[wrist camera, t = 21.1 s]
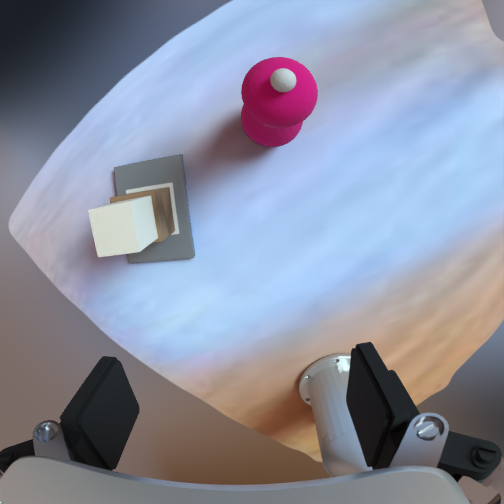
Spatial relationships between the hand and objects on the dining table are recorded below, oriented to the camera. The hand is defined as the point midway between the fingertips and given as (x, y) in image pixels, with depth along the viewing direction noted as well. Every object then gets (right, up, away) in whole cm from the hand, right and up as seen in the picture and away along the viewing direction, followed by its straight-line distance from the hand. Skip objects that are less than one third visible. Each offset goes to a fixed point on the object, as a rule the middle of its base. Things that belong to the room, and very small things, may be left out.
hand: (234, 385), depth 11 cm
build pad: (-13, +11, +29) cm, 33 cm away
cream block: (-13, +9, +22) cm, 27 cm away
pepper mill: (+3, +22, +25) cm, 34 cm away
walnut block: (-13, +11, +28) cm, 32 cm away
